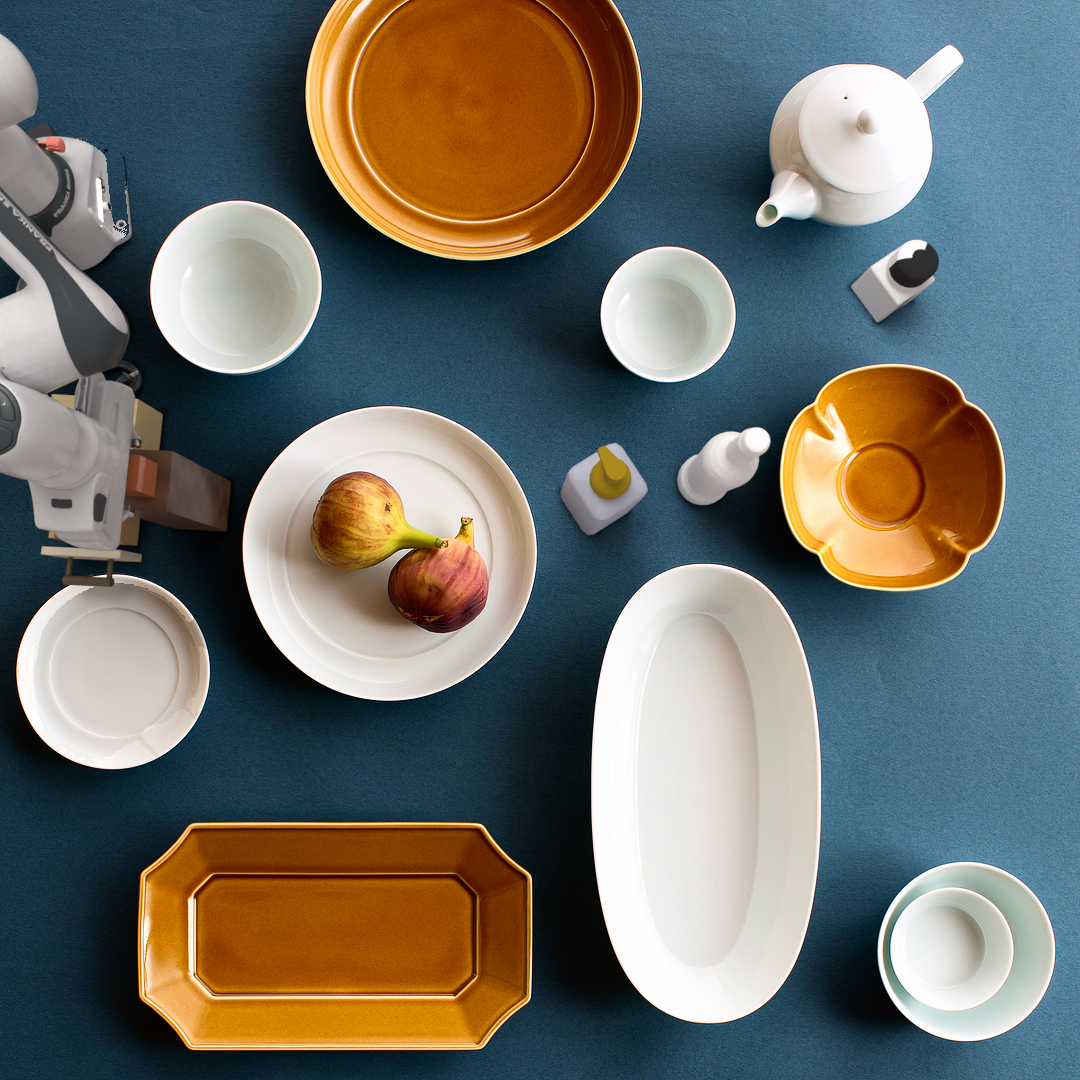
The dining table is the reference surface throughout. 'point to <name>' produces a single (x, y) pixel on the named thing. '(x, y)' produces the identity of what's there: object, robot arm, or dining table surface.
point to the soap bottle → (602, 488)
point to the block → (141, 477)
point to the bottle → (722, 465)
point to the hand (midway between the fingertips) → (132, 476)
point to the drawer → (97, 555)
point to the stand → (183, 494)
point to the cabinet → (134, 421)
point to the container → (897, 278)
